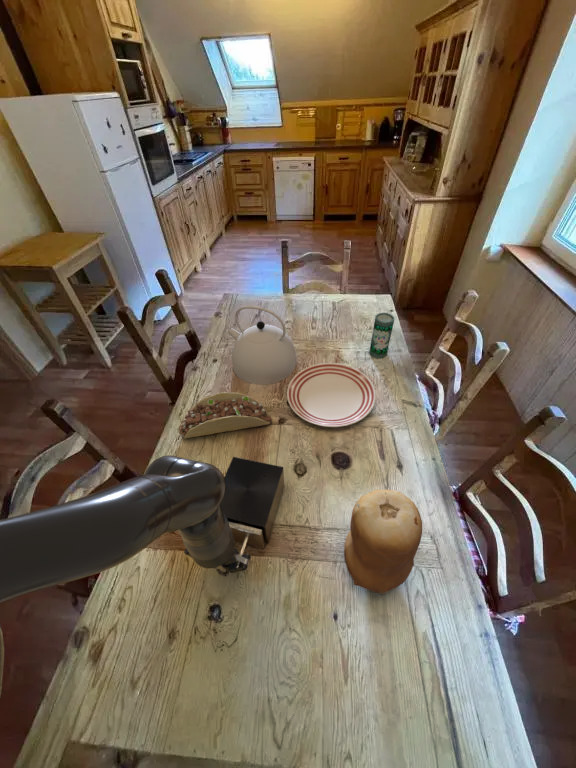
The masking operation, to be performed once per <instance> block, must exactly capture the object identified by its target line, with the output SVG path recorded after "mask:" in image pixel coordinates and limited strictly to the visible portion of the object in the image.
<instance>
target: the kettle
mask: <svg viewBox="0 0 576 768" xmlns="http://www.w3.org/2000/svg"><path fill="white" fill-rule="evenodd" d="M246 309H249V310H250V309H251V310H258V311H262V312H263V311H264V312H266V313H268V314H271V315H272V316H273V317H274V318H276V319H277V320H278V321H279V322H280V324H281V327H282V329H281V328H280V327H277V326H275V325H273V324H272V325H271V324H267V323H266V324H265V322H263V321H262V320H260V321H259V320H258V321H257V323H256V325H253V326H250V327H248V328H246V329H245V330H243V328H242V326H241V325H240V323H239V319H238V314H239V312H240V311H242V310H246ZM234 320H235V323H236V326H237V328H238V329H239V331H240V332H239V331H238V330H236V329H234V327H230V328H228V329H226V332H227V334H229V335H230V336H231V338H233V339H234V340H235V341H234V343H233V346H232V351H231V363H232V369H233V372H234V373H235V375H236V376H237V378H239V379H240V380H241V381H243V382H246V383H248V384H252V385H259V386H260V385H262V386H263V385H271V384H272V385H273V384H275V383H279V382H281V381H284V380H285V379H287V378H288V377H290V376H291V375H292V373H293V372H294V371H295V369H296V367H297V354H296V348H295V345H294V343H293V341H292V339H291V337H290V336H289V335H288V334H287V333H286V331H287V330H286V325H285V323H284V321H283V319H282V318H281V317H280V316H279V315H278V314H277V313H275V312H274V311H272V310H271V309H268V308H264V307H261V306H255V305H244V306H240V307H239V308H237V309H236V311H235V313H234Z"/></svg>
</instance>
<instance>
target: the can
mask: <svg viewBox="0 0 576 768" xmlns="http://www.w3.org/2000/svg"><path fill="white" fill-rule="evenodd" d="M394 323H395V316H394V315H393V314H391V313H389V312H379V313H376V315H375V317H374V322H373V328H372V333H371V340H370V346H369V351H368V352H369V353H368V355H370V356H371V357H372V358H374V359H384V358H386V357H387V355H388V351H389V346H390V341H391V337H392V332H393V327H394Z"/></svg>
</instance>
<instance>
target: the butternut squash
mask: <svg viewBox="0 0 576 768" xmlns="http://www.w3.org/2000/svg"><path fill="white" fill-rule="evenodd" d="M349 528H350V530H349V531H348V533H347V535H346V537H345V541H344V545H343V558H344V559H343V560H344V563H345V566H346V569H347V572H348V574H349V576H350V577H351V578H352V580H353V585H354V586H358V587H360V588H363V589H364V590H367V591H370V592H373V593H376V594H380V595H385V594H386V593H388V592H390V591H394V590H395V589H396V588H398V587H400V586H401V585H402V584H403V583H405V581H406V580H407V579H408V577H409V576H410V574H411V572H412V570H413V568H414V566H415V563H414V559H415V556H416V554H417V552H418V550H419V546H420V544H421V542H422V541H421V540H422V535H423V519H422V516H421V513H420V511H419V509H418V507H417V505H416V504H415V502H414V501H413V500H412V499H410V498H409V497H408V496H407V495H405V494H404V493H403V492H400V491H397V490H391V489H375V490H372V491H370V492H369V493H366V494H365V495H361V496H360V497H359V498H358V500H357V501H356V502H355V504H354V506H353V508H352V511H351V517H350V527H349Z"/></svg>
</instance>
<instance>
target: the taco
mask: <svg viewBox="0 0 576 768" xmlns="http://www.w3.org/2000/svg"><path fill="white" fill-rule="evenodd" d="M265 407H266V406H264V405H263V404H262V402H259V400H257V399H256V398H255V397H252V396H250V395H247V394H244V393H242V392H218V393H216V394H212V395H209V396H206V397H204V398H203V399H201V400H200V401H199V402H197V403H196V404H195V405H194V406H192V407H191V408H190V409H187V414H185V416H184V420H181V421H180V423H181V424H180V425H179V426H178V434H179V438H182V437H183V439H190V438H195V437H201V436H206V435H212V434H218V433H224V432H231V431H236V430H244V429H248V428H254V427H255V428H256V427H260V426H266V425H270V424H271V422H272V416H271V415H269V413H268V411H267V409H266V408H265Z"/></svg>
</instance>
